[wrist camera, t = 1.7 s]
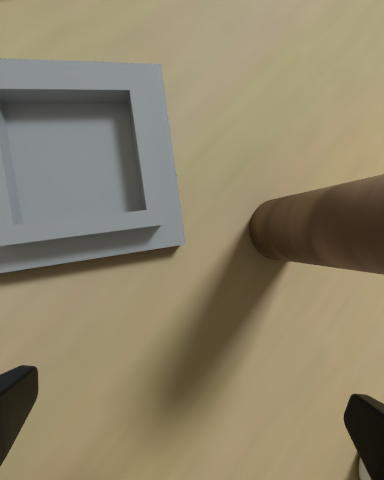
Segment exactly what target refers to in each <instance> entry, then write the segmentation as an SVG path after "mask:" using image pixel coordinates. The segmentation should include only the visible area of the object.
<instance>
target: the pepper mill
mask: <svg viewBox="0 0 384 480" xmlns="http://www.w3.org/2000/svg"><path fill="white" fill-rule="evenodd" d="M250 236H251V239H252V242H253V244H254V246H255V248H256V249H257V250H258V251H259V252H260V253H261V254H262V255H264V256H266V257H268V258H272V259H278V260H285V261H292V262H299V263H306V264H313V265H320V266H327V267H335V268H342V269H349V270H356V271H363V272H370V273H377V274H384V174H383V175H378V176H374V177H370V178H365V179H361V180H356V181H352V182H348V183H343V184H339V185H335V186H330V187H326V188H321V189H317V190H313V191H308V192H304V193H299V194H295V195H291V196H286V197H282V198H277V199H273V200H269V201H266V202H264V203H263V204H261V205H260V206H259V207H258V208H257V209H256V211H255V212H254V214H253V216H252V219H251V223H250Z"/></svg>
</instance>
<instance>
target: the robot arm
mask: <svg viewBox="0 0 384 480" xmlns="http://www.w3.org/2000/svg"><path fill="white" fill-rule="evenodd" d="M37 395H38V370H37V368H36V367H35V366H26V365H22V366H19V367H16V368H14V369H12V370H10V371H7V372H5V373H3V374H1V375H0V466H1V464H2V463H3V461H4V459H5V458H6V456H7V454H8V452H9V451H10V449H11V447H12V445H13V443H14V441H15V439H16V438H17V436H18V434H19V432H20V430H21V428H22V426H23V424H24V422H25V420H26V418H27V417H28V415H29V413H30V411H31V409H32V407H33V405H34V403H35V401H36V399H37ZM344 423H345V426H346V429H347V431H348V433H349V435H350V437H351V439H352V441H353V443H354V445H355V447H356V449H357V451H358V454H359V456H360V458H361V460H362V462H363V464H364V466H365V468H366V470H367V472H368V474H369V476H370V478H371V480H384V404H383V403H381V402H379V401H377V400H375V399H374V398H372V397H370V396H368V395H365V394H352V395H351V397H350V399H349V402H348V405H347V407H346V410H345V413H344Z"/></svg>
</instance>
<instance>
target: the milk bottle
mask: <svg viewBox="0 0 384 480" xmlns="http://www.w3.org/2000/svg"><path fill="white" fill-rule="evenodd" d="M359 478H360V480H371V478H370V476H369V474H368V472H367V470H366V468H365V466H364V464H363V462H362V460H361V458H360V459H359Z"/></svg>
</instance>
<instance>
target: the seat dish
mask: <svg viewBox="0 0 384 480" xmlns="http://www.w3.org/2000/svg"><path fill="white" fill-rule="evenodd" d="M185 244H186V243H185V236H184V229H183V221H182V214H181V207H180V199H179V192H178V185H177V177H176V170H175V163H174V155H173V148H172V141H171V133H170V126H169V119H168V112H167V104H166V97H165V90H164V82H163V75H162V68H161V64H141V63H114V62H87V61H59V60H32V59H5V58H0V273H4V272H11V271H17V270H24V269H30V268H37V267H43V266H49V265H56V264H62V263H69V262H75V261H82V260H88V259H95V258H101V257H108V256H114V255H120V254H127V253H133V252H140V251H146V250H153V249H159V248H166V247H172V246H179V245H185Z"/></svg>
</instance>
